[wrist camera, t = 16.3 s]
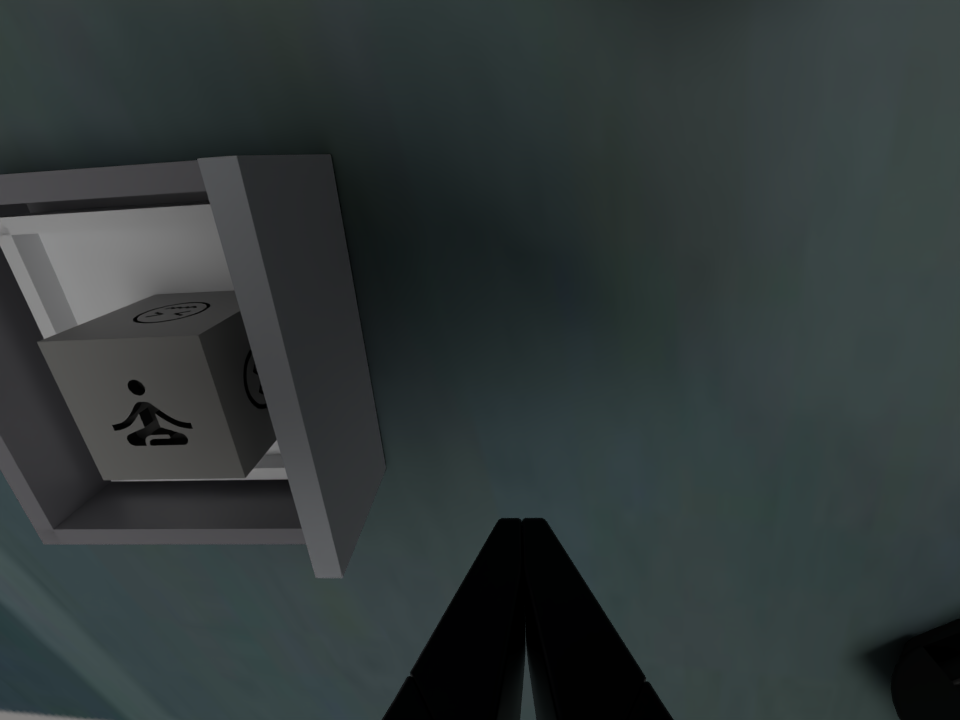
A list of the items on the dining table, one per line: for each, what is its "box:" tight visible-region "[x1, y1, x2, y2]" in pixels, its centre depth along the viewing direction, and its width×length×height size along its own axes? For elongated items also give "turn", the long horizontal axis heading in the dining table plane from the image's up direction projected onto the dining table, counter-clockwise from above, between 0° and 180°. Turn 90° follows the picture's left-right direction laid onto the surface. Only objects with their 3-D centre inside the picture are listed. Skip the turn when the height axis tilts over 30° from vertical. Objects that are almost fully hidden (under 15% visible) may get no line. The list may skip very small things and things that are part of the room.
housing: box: [0, 160, 306, 544], centre depth 18 cm, size 12×14×5 cm
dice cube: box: [37, 290, 277, 480], centre depth 17 cm, size 5×5×5 cm
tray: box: [0, 154, 386, 578], centre depth 17 cm, size 12×14×6 cm
